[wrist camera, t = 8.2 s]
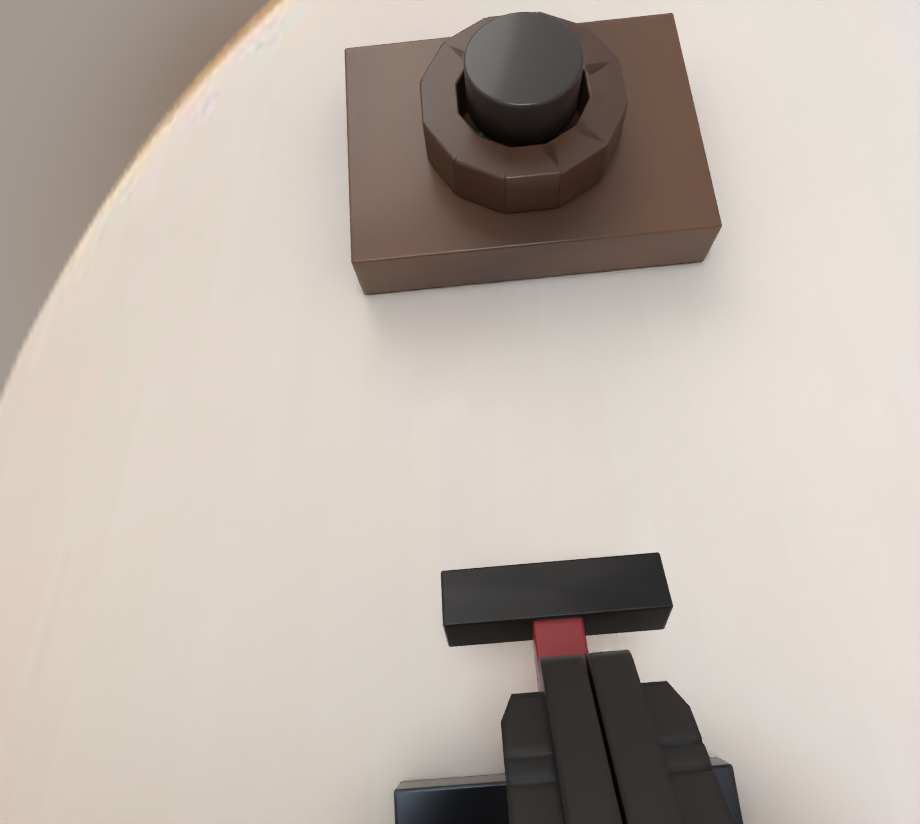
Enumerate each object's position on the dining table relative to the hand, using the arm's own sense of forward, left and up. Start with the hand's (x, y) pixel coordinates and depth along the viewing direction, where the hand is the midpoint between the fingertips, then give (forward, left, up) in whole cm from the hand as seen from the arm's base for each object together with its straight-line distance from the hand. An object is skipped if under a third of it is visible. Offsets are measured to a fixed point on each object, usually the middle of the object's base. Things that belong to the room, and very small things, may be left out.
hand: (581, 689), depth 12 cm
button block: (+1, +17, -9) cm, 20 cm away
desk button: (+1, +17, -5) cm, 18 cm away
